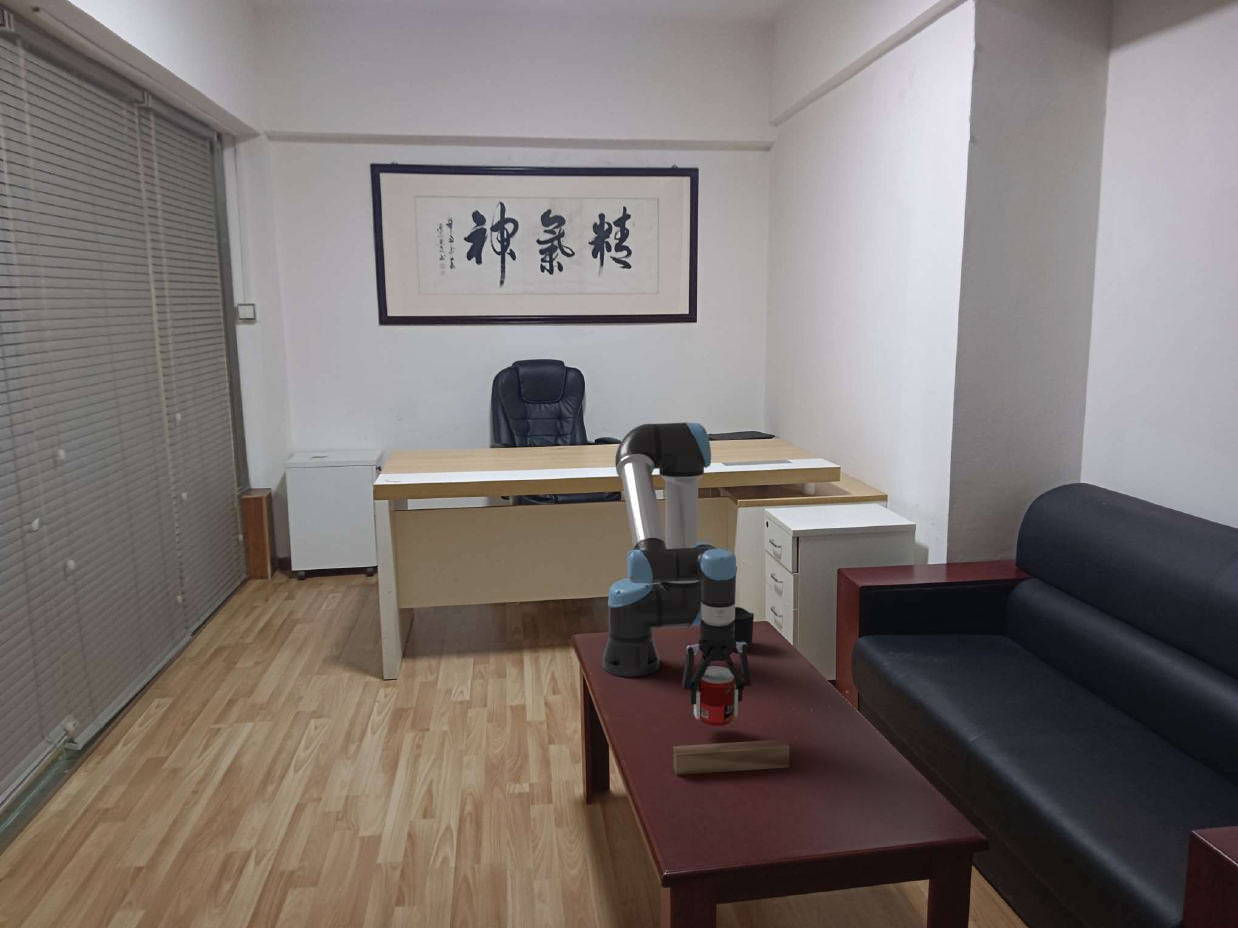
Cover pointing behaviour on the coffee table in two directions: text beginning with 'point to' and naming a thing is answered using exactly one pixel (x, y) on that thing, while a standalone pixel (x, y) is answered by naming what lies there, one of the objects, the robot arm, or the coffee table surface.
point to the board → (730, 756)
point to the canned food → (716, 696)
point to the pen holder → (743, 626)
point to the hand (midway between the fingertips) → (715, 714)
